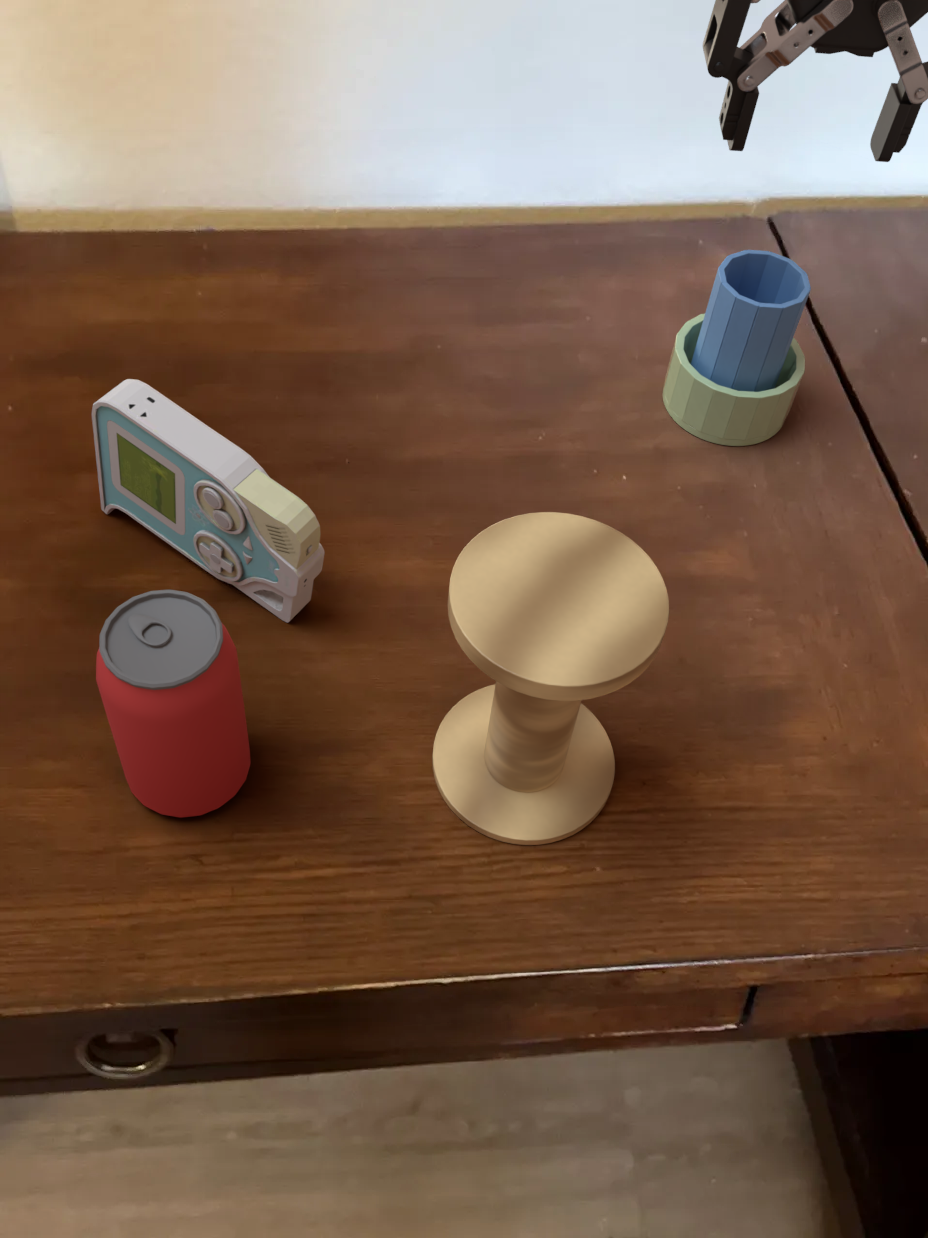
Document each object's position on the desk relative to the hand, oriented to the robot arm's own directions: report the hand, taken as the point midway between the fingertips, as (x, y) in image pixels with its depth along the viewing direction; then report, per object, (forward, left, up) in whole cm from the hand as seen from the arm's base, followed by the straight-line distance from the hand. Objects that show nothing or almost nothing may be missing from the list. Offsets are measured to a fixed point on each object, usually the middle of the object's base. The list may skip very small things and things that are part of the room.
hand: (806, 148), depth 70 cm
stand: (-2, +34, -20) cm, 39 cm away
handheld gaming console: (+21, +31, -20) cm, 43 cm away
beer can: (+13, +44, -20) cm, 50 cm away
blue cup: (0, 0, -19) cm, 19 cm away
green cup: (0, 0, -20) cm, 20 cm away
